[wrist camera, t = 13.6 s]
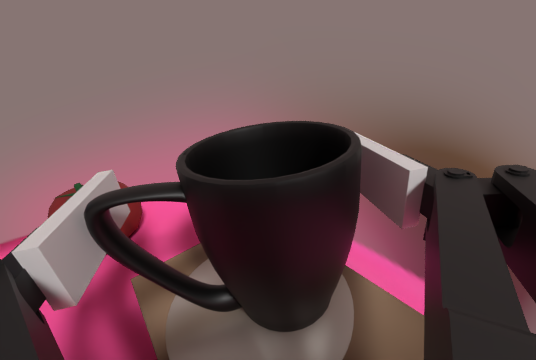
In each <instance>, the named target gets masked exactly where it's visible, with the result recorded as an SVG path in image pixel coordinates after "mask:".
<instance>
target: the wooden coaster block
mask: <svg viewBox="0 0 536 360" xmlns="http://www.w3.org/2000/svg"><path fill="white" fill-rule="evenodd" d="M164 263H166V264H167V265H169V266H171V267H173V268H174V269H176V270H178V271H179V272H181V273H183V274H185V275H187V276H189V277H191V278H193V279H195V280H198V281H200V282H203V283H207V284H211V285H224V283H223V281H222V280H221V278H220V277H219V275H218V274H217V272H216V271H215V269H214V268H213V266H212V264H211V262H210V261H209V259H208V257H207V255H206V254H205V252H204V249H203V247H202V245H201V243H200V244H198V245H196V246H194V247H192V248H190V249H188V250H186V251H184V252H183V253H181V254H179V255H177V256H175V257H173V258H171V259H169V260H167V261H165V262H164ZM131 282H132V285H133V288H134V291H135V294H136V297H137V300H138V303H139V306H140V309H141V312H142V315H143V318H144V320H145V323H146V326H147V329H148V332H149V335H150V338H151V341H152V344H153V347H154V350H155V353H156V356H157V359H158V360H424V315H422V314H420V313H419V312H417V311H416V310H414V309H413V308H411V307H410V306H408V305H406V304H405V303H403V302H402V301H400V300H399V299H397V298H396V297H394V296H392V295H391V294H389V293H388V292H386V291H385V290H383V289H382V288H380V287H378V286H377V285H375V284H374V283H372V282H371V281H369V280H368V279H366V278H364V277H363V276H361V275H360V274H358V273H357V272H355V271H354V270H352V269H350V268H349V267H347V266H346V265H345V266H344V269H343V272H342V275H341V277H340V280H339V282H338V284H337V287H336V289H335V291H334V293H333V295H332V297H331V300H330V303H329V306H328V308H327V310H326V311H325V313H324V314H323V316H322V317H320V318H319V319H318V320H317V321H316V322H315V323H313V324H312V325H310V326H308V327H306V328H304V329H301V330H297V331H292V332H277V331H272V330H268V329H266V328H264V327H262V326H259V325H258V324H257V323H255V322H254V321H253V320H251V319H250V317H249V316H248V315H247V314H246V312H245V311H244V309H243V307H242V308H240V309H237V310H234V311H230V312H217V311H212V310H208V309H205V308H203V307H200V306H198V305H195V304H193V303H191V302H189V301H187V300H185V299H183V298H181V297H179V296H177V295H176V294H174V293H172V292H170V291H168V290H166V289H164V288H162V287H161V286H159V285H157V284H155V283H153V282H151V281H150V280H148V279H146V278H144V277H142V276H141V275H138V276H136V277H134V278H132V279H131Z"/></svg>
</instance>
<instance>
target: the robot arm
mask: <svg viewBox="0 0 536 360" xmlns="http://www.w3.org/2000/svg"><path fill="white" fill-rule="evenodd" d="M354 133H355V132H354ZM355 134H356V135H357V136H358V137H359V138H360V141H361V146H362V156H361V179H360V193H361V194H362V195H364V196H365V197H366V198H367V199H368V200H369V201H370V202H372V203H373V204H374V205H375V206H376V207H377V208H378V209H380V210H381V211H382V212H383V213H384V214H385V215H386V216H388V217H389V218H390V219H391V220H392V221H393V222H394V223H396V224H397V225H398V226H399V227H400V228H401V229H404V228H409V227H413V226H417V225H418V223H419V216H420V213H421V214H422V215H424V216H425V217H426V218H427V222H426V228H425V233H424V238H423V240H425V241H426V245H425V312H424V360H536V334H533V333H531V332H530V331H529V328H528V326H527V323H526V320H525V317H524V314H523V311H522V308H521V305H520V302H519V300H518V297H517V293H516V291H515V288H514V285H513V282H512V279H511V276H510V273H509V270H508V267H507V265H508V266H509V267H510V269H511V270H512V272H513V273H514V274H515V276H516V277H517V278H518V280H519V281H520V282H521V284H522V285H523V286H524V288H525V289H526V290H527V292H528V293H529V295H530V296H531V297H532V299H533V300H534V301H535V303H536V170H534V169H531V168H527V167H526V166H520V165H503V166H498V167H496V168H495V170H494V173H493V176H492V178H477V177H476V176H475V174H473V173H471V172H469V171H466V170H463V169H457V168H444V169H440V170H437V169H435V168H432V167H430V166H428V165H426V164H424V163H421V162H420V161H418V160H414V159H413V158H411V157H409V156H407V155H404V154H399V153H397V152H395V151H393V150H391V149H389V148H387V147H385V146H382V145H380V144H378V143H376V142H374V141H372V140H370V139H368V138H366V137H364V136H362V135H360V134H357V133H355ZM118 189H121V188H120V186H119V183H118V181H117V179H116V177H115V174H114V172H113V170H109V171H103V172H98V173H97V174H96V175H95V176H94V177H93V178H92V179H90V180H89V181H88V182H87V183H86V184H85V185H84V186H83V187H82V188H81V189H80V190H79V191H77V192H76V193H75V194H74V195H73V196H72V197H71V198H70V199H69V200H68V201H67V202H66V203H64V204H63V205H62V206H61V207H60V208H59V209H58V210H57V211H56V212H55V213H54V214H53V215H51V216H50V217H49V218H48V219H47V220H46V221H45V222H44V223H43V224H42V225H41V226H40V227H38V228H36V229H35V230H34V231H33V232H32V233H31V234H30V235H28V236H27V238H25V239H24V240H23V241H22V242H21V243H20V245H18V246H16V247H15V248H14V249H13V250H12V251H11V252H10V253H9V254H8V255H7V256H6V257H4V258H3V259H2V260H1V259H0V360H64V358H63V356H62V353H61V351H60V349H59V347H58V345H57V343H56V340H55V338H54V336H53V334H52V332H51V330H50V328H49V325H48V323H47V321H46V319H45V317H44V315H43V314H42V313H41V311H40V310H39V308H40V307H41V305H42V304H43V302H44V301H45V300H47V302H48V303H49V305H50V306H51V307H52V309H53V310H54V311H55V310H60V309H64V308H68V307H72V306H77V304H78V302H79V300H80V299H81V297H82V295H83V293H84V292H85V290H86V288H87V286H88V285H89V283H90V281H91V279H92V278H93V276H94V274H95V272H96V271H97V269H98V267H99V265H100V264H101V262H102V260H103V259H104V257H105V255H106V253H105V252H104V251H103V250H102V249H101V248H100V247H99V246H98V245H97V243H96V242H95V241H94V240H93V238H92V237H91V235H90V233H89V231H88V229H87V226H86V223H85V219H84V211H85V208H86V206H87V204H88V203H89V202H90V201H92V200H93V199H94V198H96V197H97V196H99V195H102V194H104V193H107V192H110V191H114V190H118ZM109 210H110V214H111V216H112V218H113V220H114V222H115V223H116V225H117V226H118V227H119V228H120V229H121V227H122V225H123V224H124V222H125V220H126V218H127V217H128V215H129V213H130V209H129V207H128V205H127V204H124V205H119V206H116V207H113V208H110V209H109Z"/></svg>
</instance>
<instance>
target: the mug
mask: <svg viewBox="0 0 536 360" xmlns="http://www.w3.org/2000/svg"><path fill="white" fill-rule="evenodd" d="M361 156H362V146H361V141H360V138H359V137H358V136H357V135H356V134H355V133H354V132H353V131H351V130H349V129H347V128H345V127H341V126H337V125H334V124H329V123H322V122H311V121H310V122H309V121H285V122H272V123H263V124H258V125H251V126H246V127H241V128H237V129H232V130H229V131H226V132H222V133H219V134H216V135H214V136H211V137H208V138H206V139H203V140H201V141H199V142H197V143H195V144H193V145H192V146H190V147H189V148H187V149H186V150H185V151H184V152H183V153H182V154H181V155H180V156H179V157H178V160H177V162H176V169H177V173H178V176H179V180H180V182H167V183H154V184H146V185H138V186H132V187H127V188H122V189H118V190H114V191H110V192H107V193H104V194H102V195H99V196H97V197H96V198H94V199H93V200H92V201H90V202H89V203H88V204H87V206H86V208H85V211H84V219H85V223H86V226H87V229H88V231H89V233H90V235H91V237H92V238H93V240H94V241H95V242H96V243H97V245H98V246H99V247H100V248H101V249H102V250H103V251H104V252H105V253H107V254H108V255H109V256H110V257H112V258H113V259H114V260H116V261H117V262H119V263H120V264H122V265H124V266H125V267H127V268H128V269H130V270H132V271H134V272H135V273H137V274H139V275H141V276H142V277H144V278H146V279H148V280H150V281H151V282H153V283H155V284H157V285H159V286H161V287H162V288H164V289H166V290H168V291H170V292H172V293H174V294H176V295H177V296H179V297H181V298H183V299H185V300H187V301H189V302H191V303H193V304H195V305H198V306H200V307H203V308H205V309H208V310H212V311H217V312H230V311H234V310H237V309H240V308H242V307H243V309H244V311H245V312H246V314H247V315H248V316H249V317H250V319H251V320H253V321H254V322H255V323H257V324H258V325H259V326H262V327H264V328H266V329H268V330H272V331H277V332H292V331H297V330H301V329H304V328H306V327H308V326H310V325H312V324H313V323H315V322H316V321H317V320H318V319H319V318H320V317H322V316H323V314H324V313H325V311H326V310H327V308H328V306H329V303H330V300H331V297H332V295H333V293H334V291H335V289H336V287H337V284H338V282H339V280H340V277H341V275H342V272H343V269H344V266H345V264H346V261H347V258H348V255H349V252H350V248H351V245H352V241H353V237H354V233H355V229H356V223H357V218H358V213H359V199H360V198H359V197H360V179H361ZM147 201H172V202H184V203H187V206H188V209H189V213H190V216H191V219H192V222H193V225H194V228H195V231H196V234H197V236H198V239H199V241H200V243H201V245H202V247H203V249H204V252H205V254H206V255H207V257H208V259H209V261H210V262H211V264H212V266H213V268H214V269H215V271H216V272H217V274H218V275H219V277H220V278H221V280H222V281H223V283H224V285H211V284H207V283H203V282H200V281H198V280H195V279H193V278H191V277H189V276H187V275H185V274H183V273H181V272H179V271H178V270H176V269H174V268H173V267H171V266H169V265H167V264H166V263H164V262H163V261H161V260H159V259H158V258H156V257H155V256H153V255H152V254H150V253H149V252H147V251H146V250H144V249H143V248H141V247H140V246H138V245H137V244H136V243H134V242H133V241H132V240H131V239H129V238H128V237H127V236H126V235H125V234H124V233H123V232H122V231H121V230H120V228H119V227H118V226H117V225H116V223H115V222H114V220H113V218H112V216H111V214H110V210H109V209H110V208H113V207H116V206H119V205H124V204H129V203H136V202H147Z"/></svg>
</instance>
